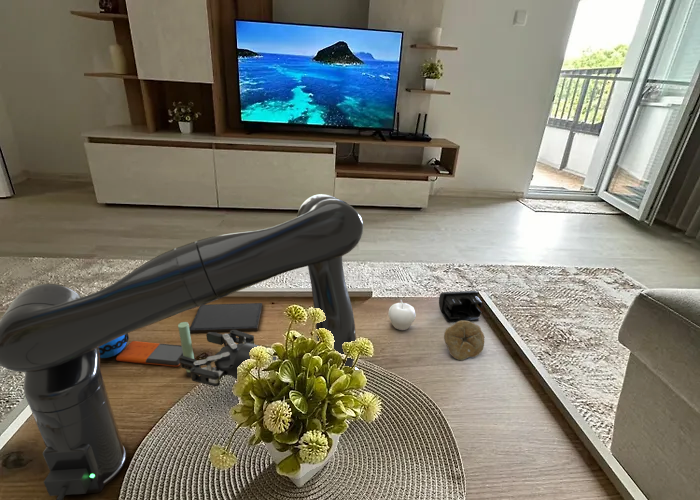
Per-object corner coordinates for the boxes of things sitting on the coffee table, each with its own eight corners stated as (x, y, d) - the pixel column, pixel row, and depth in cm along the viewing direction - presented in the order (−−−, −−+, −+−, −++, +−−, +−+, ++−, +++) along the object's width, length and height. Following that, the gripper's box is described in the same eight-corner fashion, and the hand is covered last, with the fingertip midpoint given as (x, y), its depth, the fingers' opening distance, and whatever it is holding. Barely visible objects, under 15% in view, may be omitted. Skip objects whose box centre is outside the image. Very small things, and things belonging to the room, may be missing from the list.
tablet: (257, 331, 102) (257, 327, 101) (189, 333, 100) (188, 329, 100) (262, 305, 113) (262, 302, 112) (201, 307, 111) (200, 304, 111)
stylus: (195, 376, 86) (186, 327, 81) (185, 377, 86) (176, 327, 81) (197, 370, 88) (189, 321, 83) (188, 370, 88) (179, 321, 82)
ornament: (83, 368, 88) (71, 331, 83) (97, 344, 95) (86, 309, 91) (125, 364, 89) (115, 327, 85) (136, 340, 97) (127, 305, 93)
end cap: (470, 307, 115) (473, 286, 112) (480, 320, 109) (485, 299, 106) (437, 308, 114) (440, 288, 111) (446, 323, 107) (449, 301, 104)
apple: (393, 315, 110) (395, 290, 106) (417, 323, 107) (420, 297, 103) (383, 328, 104) (385, 302, 101) (408, 337, 101) (411, 310, 98)
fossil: (439, 328, 95) (474, 314, 97) (434, 332, 99) (468, 318, 101) (456, 364, 92) (492, 348, 94) (450, 366, 96) (485, 351, 98)
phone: (131, 339, 95) (191, 345, 94) (133, 344, 96) (192, 349, 94) (114, 357, 89) (177, 363, 88) (115, 361, 90) (178, 368, 88)
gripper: (278, 331, 83) (213, 315, 88) (241, 375, 71) (167, 354, 76) (280, 359, 86) (217, 342, 91) (244, 406, 74) (173, 384, 79)
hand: (194, 348), depth 83 cm, fingers open, 8 cm apart
